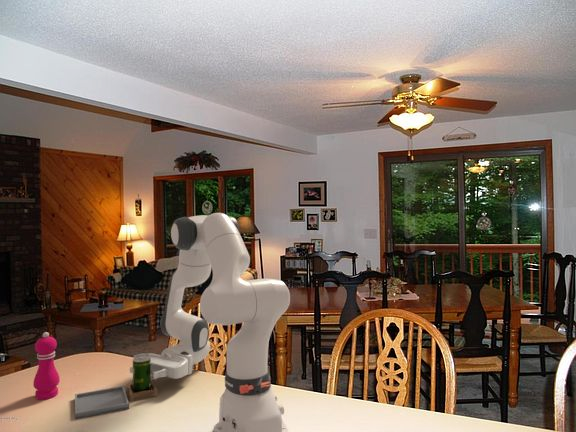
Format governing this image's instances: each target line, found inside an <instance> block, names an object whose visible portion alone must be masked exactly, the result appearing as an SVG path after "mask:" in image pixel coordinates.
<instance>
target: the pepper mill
mask: <svg viewBox="0 0 576 432" xmlns="http://www.w3.org/2000/svg"><path fill="white" fill-rule="evenodd" d="M57 345H58V344H57V340H56V339H55V338H54V337H52V336H50V333H49V332H47V331H45V332H43V333H42V337H41V338H40V337H39V339H38V340H36V342H35V344H34V349H35V352H37V353H36V359H38V368H37V371H36V373H35V376H34V378H33V387H34V388H35V393H34V394H35V395H34V396H35V399H36V400H38V401H39V400H41V401H42V400H43V401H44V400H48V399H52V398H54V397H56V396H57V395H59V387H58V385H59V384H60V375H59V372H58V370H57V369H56V365H55V361H54V360H55V357H56V351H55V350H56V348H57Z"/></svg>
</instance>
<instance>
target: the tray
mask: <svg viewBox="0 0 576 432" xmlns="http://www.w3.org/2000/svg"><path fill="white" fill-rule="evenodd" d="M126 391H127V390H126V388H125V386H124V385H122V386H114V387H109V388H108V387H107V388H104V389H97V390H92V391H85V392H81V393H74V409H75V410H74V413H75V414H74V415H75V416H74V419H75V420H78V419H82V418H89V417H92V416H98V415H104V414H109V413H113V412H118V411H123V410H128V409H129V410H130V401H129V399H128V398H129V397H128V394H127V393H126Z"/></svg>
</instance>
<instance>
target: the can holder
mask: <svg viewBox="0 0 576 432" xmlns="http://www.w3.org/2000/svg"><path fill="white" fill-rule="evenodd" d="M126 387H127V388H126V391H127V396H128V398H129V399H128V400H129V402H132V401H138V400H143V399H149V398H154V397H158V388H157V387H156V384H155V382H154V380H151V390H147V391H141V392H136V393H133V383H132V384H127V385H126Z"/></svg>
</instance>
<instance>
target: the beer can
mask: <svg viewBox="0 0 576 432" xmlns="http://www.w3.org/2000/svg"><path fill="white" fill-rule="evenodd" d="M132 367H133V373H132V384H133V391H132V393H136V392H141V391H147V390H152V389H151V381H152V378H151V358H150V355H149V354H148V353H143V352H142V353H138V354H134V355H133V358H132Z"/></svg>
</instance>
